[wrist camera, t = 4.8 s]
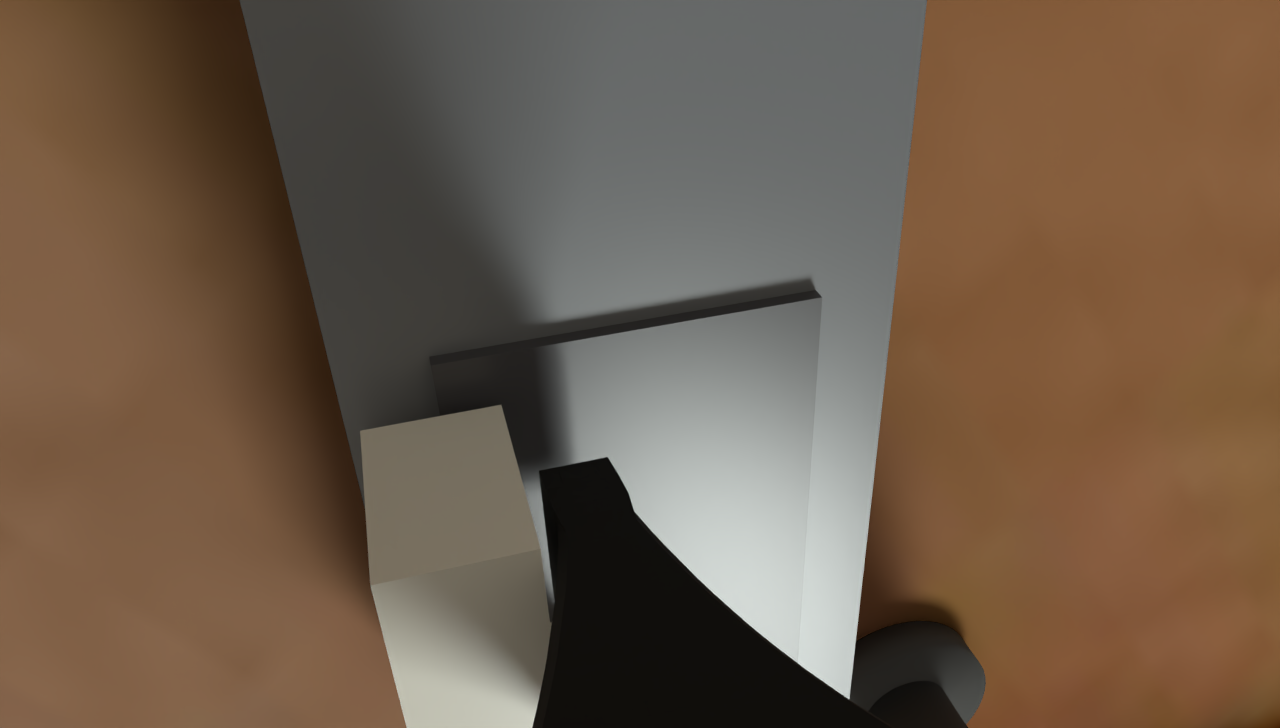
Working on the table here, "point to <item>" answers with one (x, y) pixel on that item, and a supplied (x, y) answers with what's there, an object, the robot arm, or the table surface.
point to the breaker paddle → (456, 570)
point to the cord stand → (917, 676)
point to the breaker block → (621, 255)
